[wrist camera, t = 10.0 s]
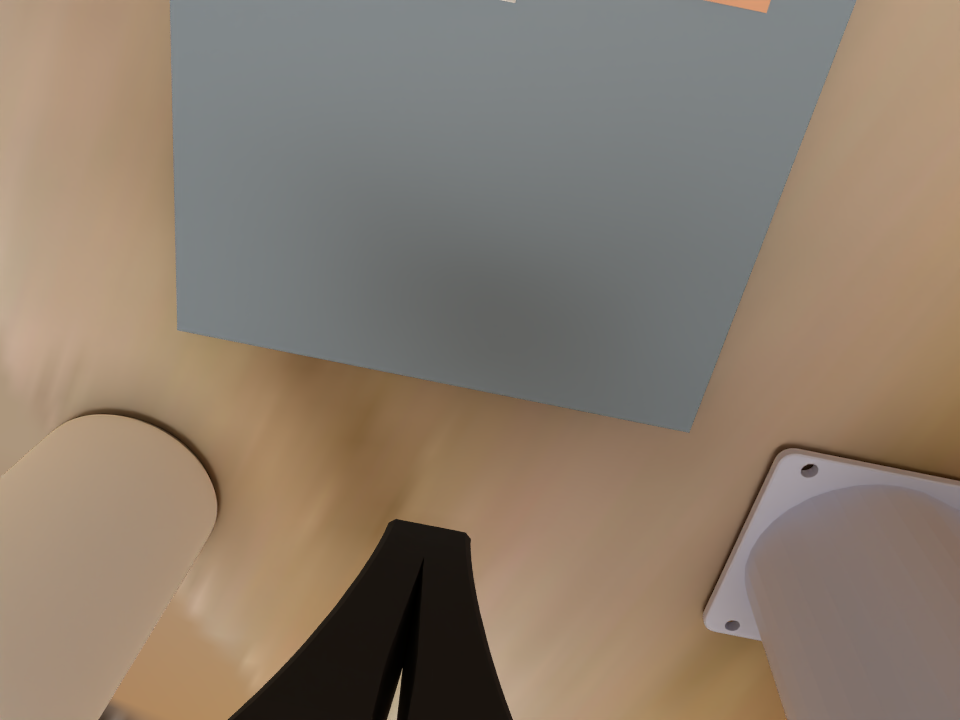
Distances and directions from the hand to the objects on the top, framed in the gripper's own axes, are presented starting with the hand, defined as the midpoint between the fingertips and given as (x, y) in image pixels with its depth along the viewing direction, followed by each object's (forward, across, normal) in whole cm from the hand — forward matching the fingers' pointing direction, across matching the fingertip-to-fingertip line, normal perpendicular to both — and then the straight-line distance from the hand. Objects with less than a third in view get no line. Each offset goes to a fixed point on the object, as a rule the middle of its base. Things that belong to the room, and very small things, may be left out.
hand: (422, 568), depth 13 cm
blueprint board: (+10, +1, -7) cm, 13 cm away
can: (+11, +11, +9) cm, 18 cm away
